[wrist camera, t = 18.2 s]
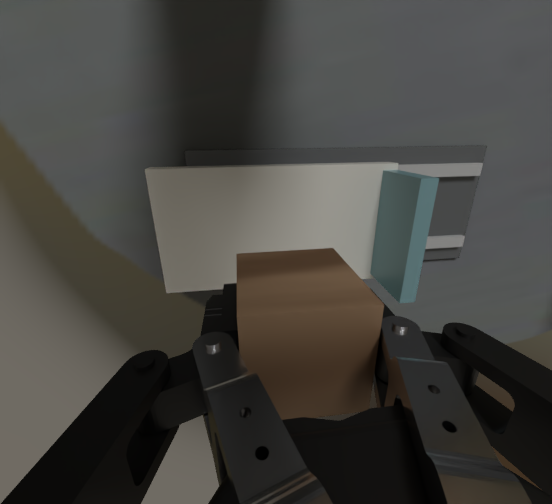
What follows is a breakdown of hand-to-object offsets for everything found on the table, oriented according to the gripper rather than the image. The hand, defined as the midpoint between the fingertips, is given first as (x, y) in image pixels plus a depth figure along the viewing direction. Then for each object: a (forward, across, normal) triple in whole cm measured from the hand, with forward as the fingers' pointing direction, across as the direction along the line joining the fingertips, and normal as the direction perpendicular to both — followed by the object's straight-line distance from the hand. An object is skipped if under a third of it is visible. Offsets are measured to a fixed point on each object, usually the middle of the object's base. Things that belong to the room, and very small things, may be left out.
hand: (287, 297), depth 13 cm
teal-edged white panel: (+15, -1, 0) cm, 15 cm away
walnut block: (+1, 0, 0) cm, 1 cm away
